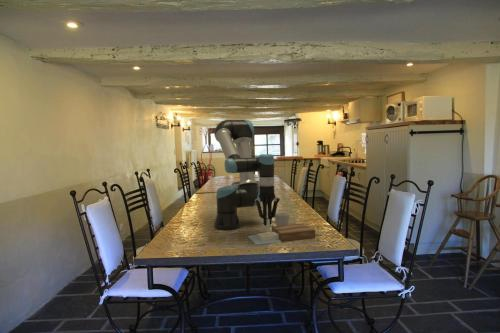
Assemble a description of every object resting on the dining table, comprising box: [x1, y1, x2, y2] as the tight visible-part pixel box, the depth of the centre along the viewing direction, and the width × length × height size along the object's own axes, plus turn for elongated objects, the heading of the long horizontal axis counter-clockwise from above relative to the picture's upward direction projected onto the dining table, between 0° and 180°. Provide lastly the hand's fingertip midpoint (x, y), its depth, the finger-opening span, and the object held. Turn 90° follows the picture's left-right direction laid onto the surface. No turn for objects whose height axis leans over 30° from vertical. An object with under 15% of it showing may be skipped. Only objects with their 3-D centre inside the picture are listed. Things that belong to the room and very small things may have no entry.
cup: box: [271, 211, 290, 226], centre depth 186 cm, size 11×8×8 cm
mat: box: [247, 234, 282, 246], centre depth 164 cm, size 15×13×1 cm
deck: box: [271, 223, 316, 243], centre depth 169 cm, size 14×18×4 cm
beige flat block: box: [257, 231, 279, 241], centre depth 165 cm, size 6×9×2 cm, turn 107°
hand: (267, 231), depth 164 cm, fingers closed
